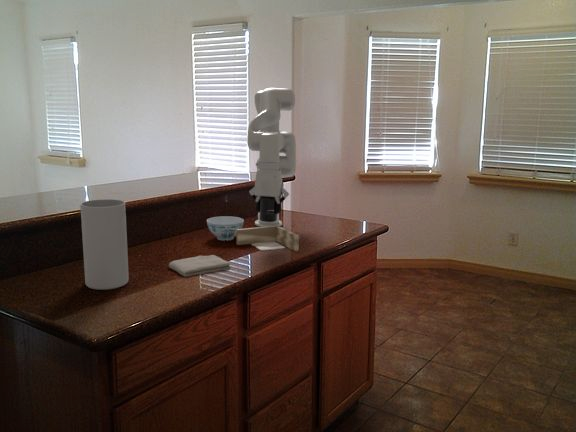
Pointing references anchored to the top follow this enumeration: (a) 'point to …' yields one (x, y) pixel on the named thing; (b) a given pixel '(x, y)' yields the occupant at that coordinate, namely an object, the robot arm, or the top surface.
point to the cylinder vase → (104, 243)
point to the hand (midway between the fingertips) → (268, 212)
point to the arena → (268, 238)
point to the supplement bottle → (268, 209)
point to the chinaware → (225, 226)
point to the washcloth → (198, 265)
